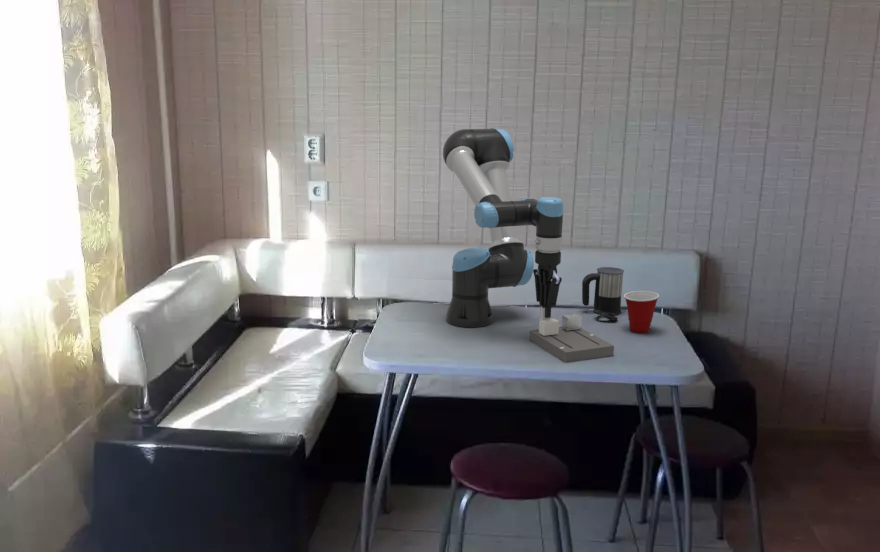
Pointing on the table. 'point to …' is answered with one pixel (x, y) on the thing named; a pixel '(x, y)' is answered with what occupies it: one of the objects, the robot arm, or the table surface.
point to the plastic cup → (640, 309)
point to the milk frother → (605, 291)
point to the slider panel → (573, 344)
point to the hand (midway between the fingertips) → (545, 327)
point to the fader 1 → (548, 327)
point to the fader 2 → (571, 322)
